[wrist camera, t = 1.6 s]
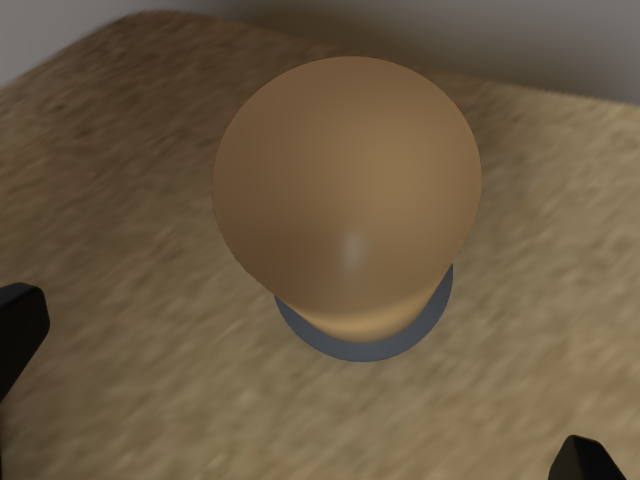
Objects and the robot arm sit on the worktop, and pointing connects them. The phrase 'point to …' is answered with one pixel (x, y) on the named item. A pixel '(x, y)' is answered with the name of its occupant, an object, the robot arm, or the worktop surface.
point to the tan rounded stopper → (350, 201)
